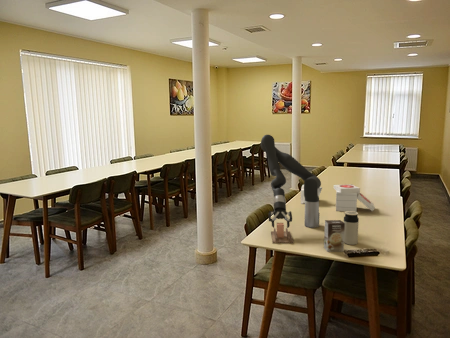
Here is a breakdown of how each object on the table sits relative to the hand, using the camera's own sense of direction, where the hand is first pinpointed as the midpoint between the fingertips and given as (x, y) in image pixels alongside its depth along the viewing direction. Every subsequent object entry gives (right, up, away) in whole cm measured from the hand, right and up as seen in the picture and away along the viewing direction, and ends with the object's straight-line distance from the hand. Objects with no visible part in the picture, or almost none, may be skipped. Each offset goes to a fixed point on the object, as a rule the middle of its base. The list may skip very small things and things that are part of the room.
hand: (280, 227), depth 209 cm
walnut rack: (+1, -7, +2) cm, 7 cm away
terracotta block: (0, -6, +2) cm, 6 cm away
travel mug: (+39, -8, -7) cm, 41 cm away
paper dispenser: (+67, +3, +62) cm, 91 cm away
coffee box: (+26, -10, -17) cm, 33 cm away
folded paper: (+41, +7, +88) cm, 98 cm away
